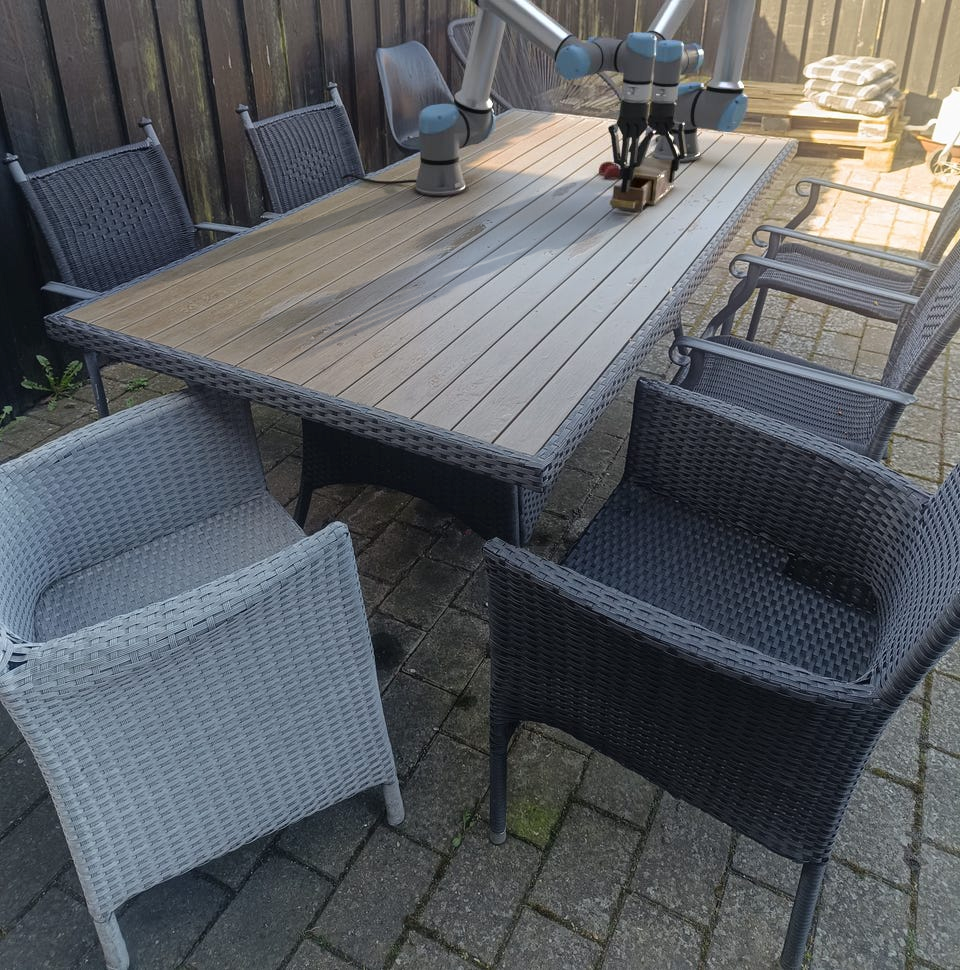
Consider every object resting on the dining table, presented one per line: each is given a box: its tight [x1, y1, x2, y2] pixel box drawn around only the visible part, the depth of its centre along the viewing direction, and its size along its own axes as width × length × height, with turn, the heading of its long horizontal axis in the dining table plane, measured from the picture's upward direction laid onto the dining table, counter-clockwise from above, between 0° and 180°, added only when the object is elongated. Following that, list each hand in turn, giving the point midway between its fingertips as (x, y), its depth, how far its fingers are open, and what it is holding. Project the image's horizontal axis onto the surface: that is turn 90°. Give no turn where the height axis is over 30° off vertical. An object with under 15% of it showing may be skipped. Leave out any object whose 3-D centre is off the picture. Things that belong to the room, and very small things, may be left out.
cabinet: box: [634, 156, 675, 206], centre depth 252 cm, size 20×10×8 cm, turn 153°
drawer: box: [609, 177, 654, 213], centre depth 242 cm, size 24×9×6 cm, turn 153°
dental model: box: [598, 161, 620, 179], centre depth 269 cm, size 6×4×8 cm
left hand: (625, 191), depth 234 cm, fingers closed
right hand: (654, 179), depth 257 cm, fingers closed on cabinet, 10 cm apart
